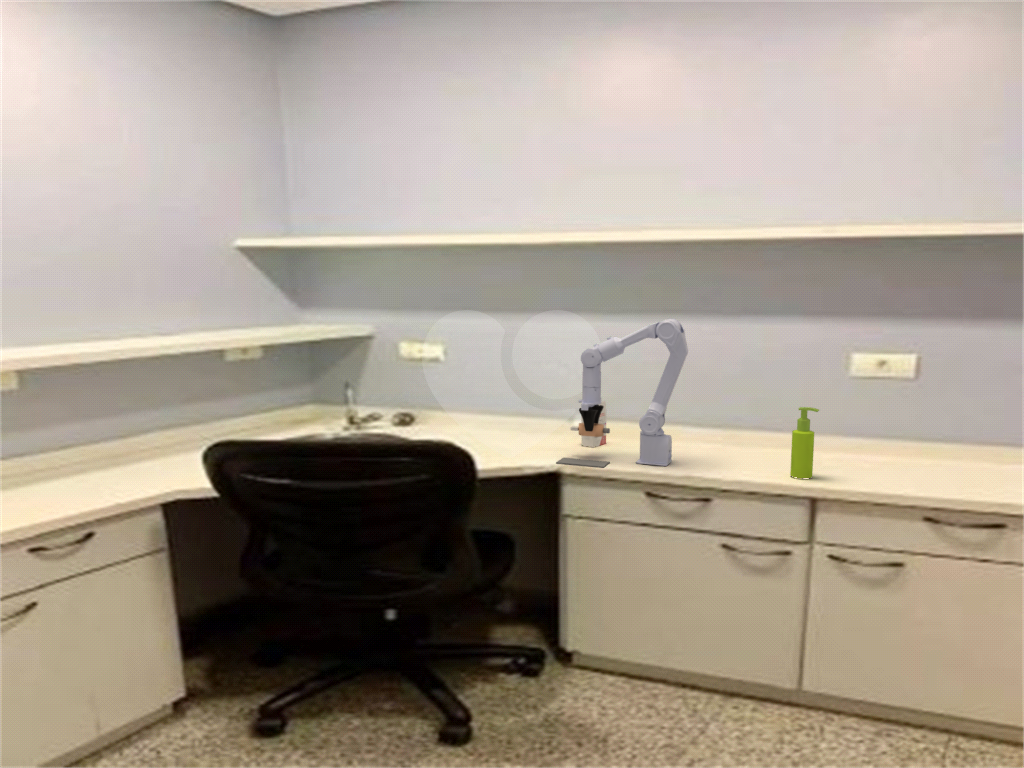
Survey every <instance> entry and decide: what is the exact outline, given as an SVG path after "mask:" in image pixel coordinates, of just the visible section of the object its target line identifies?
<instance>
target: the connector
mask: <svg viewBox="0 0 1024 768" xmlns="http://www.w3.org/2000/svg"><path fill="white" fill-rule="evenodd" d="M610 429H611V428H609V427H608V428H607V427H606V428H604V424H598V423H594V427H593V431H586V430H585V427H584V423H581V422H579V423H578V425H572V426H570V431H575V432H578V436H581V437H582V436H594V437H601V436H604V433H606V434H610V433H611V430H610Z"/></svg>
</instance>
